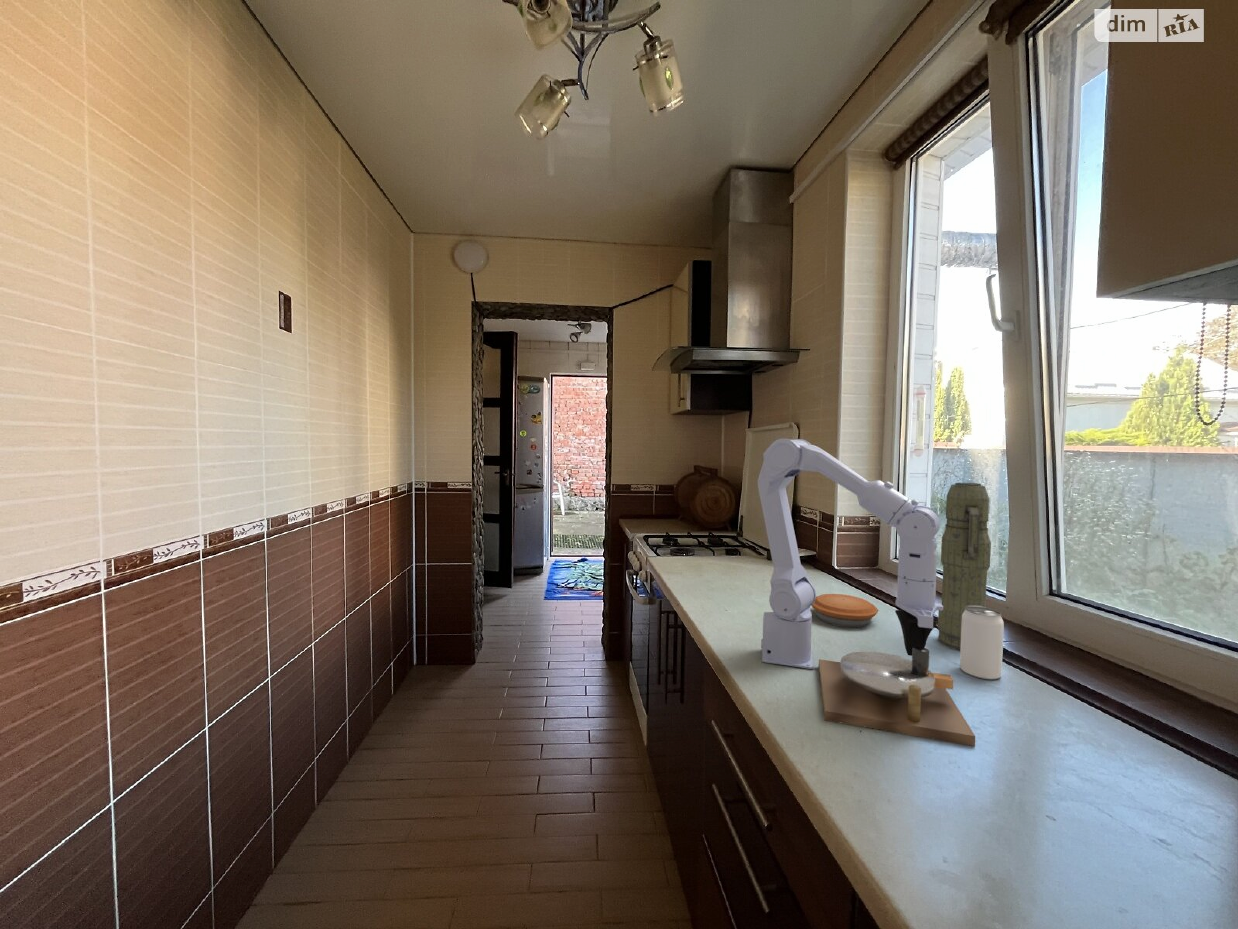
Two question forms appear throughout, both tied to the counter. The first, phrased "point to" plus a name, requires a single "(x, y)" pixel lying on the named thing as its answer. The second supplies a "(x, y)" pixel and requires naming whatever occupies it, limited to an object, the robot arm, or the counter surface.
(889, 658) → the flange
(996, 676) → the can
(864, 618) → the pie
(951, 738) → the base board
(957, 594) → the thermos
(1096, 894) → the counter surface
